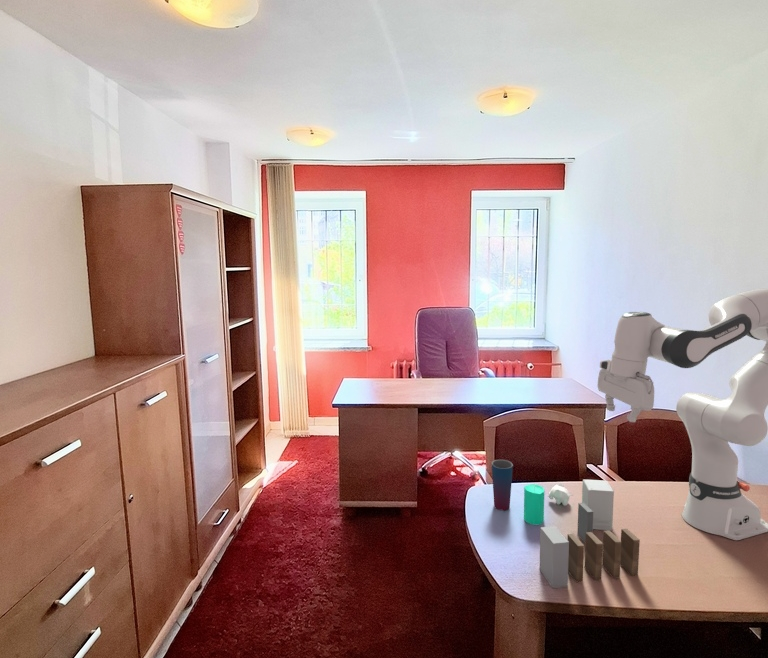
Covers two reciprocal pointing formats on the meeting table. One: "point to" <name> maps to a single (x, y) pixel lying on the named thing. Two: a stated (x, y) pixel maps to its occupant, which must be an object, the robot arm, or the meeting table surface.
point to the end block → (554, 556)
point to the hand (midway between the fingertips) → (620, 415)
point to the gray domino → (584, 520)
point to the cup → (502, 483)
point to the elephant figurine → (559, 494)
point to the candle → (534, 504)
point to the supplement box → (599, 502)
